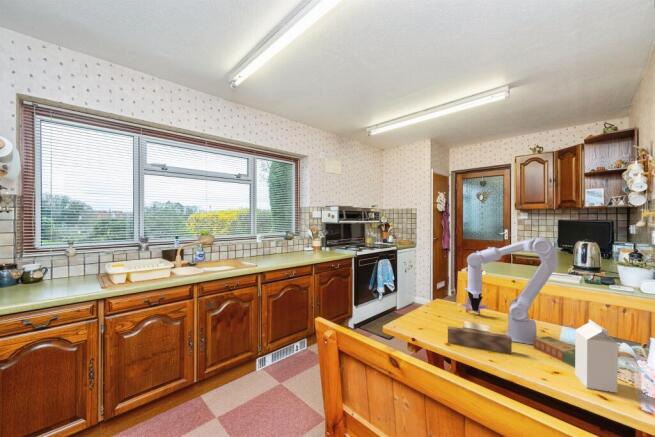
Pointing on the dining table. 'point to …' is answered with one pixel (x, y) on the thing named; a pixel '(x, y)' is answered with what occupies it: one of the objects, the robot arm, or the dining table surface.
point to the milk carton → (596, 357)
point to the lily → (469, 307)
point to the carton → (556, 349)
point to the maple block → (476, 326)
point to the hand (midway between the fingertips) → (474, 309)
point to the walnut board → (480, 339)
